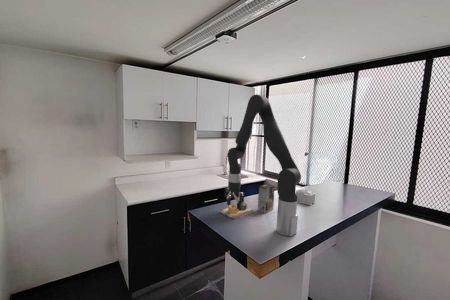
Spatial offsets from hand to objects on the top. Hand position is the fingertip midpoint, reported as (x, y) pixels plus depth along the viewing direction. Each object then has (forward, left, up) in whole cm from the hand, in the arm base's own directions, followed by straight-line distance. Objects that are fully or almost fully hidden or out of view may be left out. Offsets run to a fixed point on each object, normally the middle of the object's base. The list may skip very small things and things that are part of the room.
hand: (233, 206), depth 130 cm
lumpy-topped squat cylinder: (-17, -57, -5) cm, 60 cm away
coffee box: (-9, -21, -5) cm, 23 cm away
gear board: (0, -4, -4) cm, 6 cm away
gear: (0, 0, -3) cm, 3 cm away
